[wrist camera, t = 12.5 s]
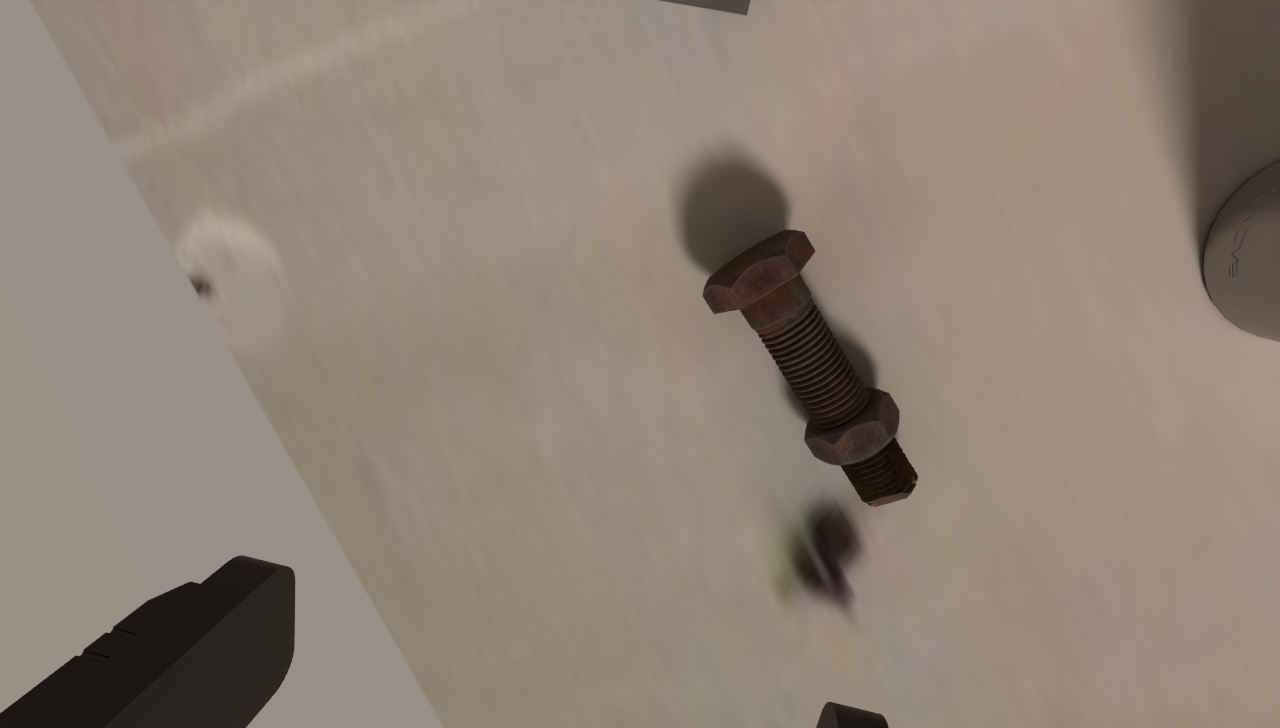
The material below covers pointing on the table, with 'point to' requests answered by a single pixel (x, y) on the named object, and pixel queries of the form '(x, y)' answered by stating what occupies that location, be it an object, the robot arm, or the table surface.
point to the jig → (718, 5)
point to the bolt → (816, 366)
